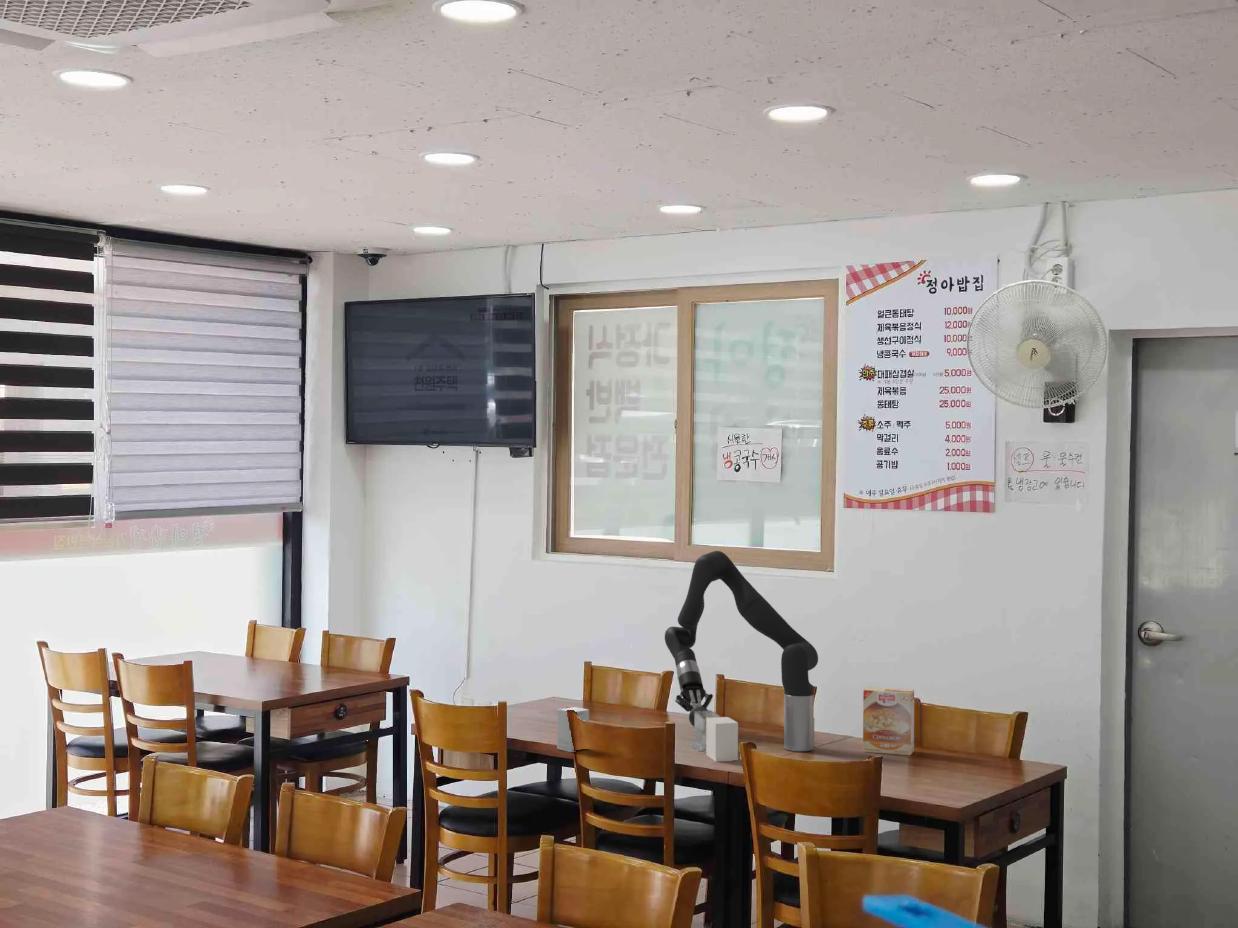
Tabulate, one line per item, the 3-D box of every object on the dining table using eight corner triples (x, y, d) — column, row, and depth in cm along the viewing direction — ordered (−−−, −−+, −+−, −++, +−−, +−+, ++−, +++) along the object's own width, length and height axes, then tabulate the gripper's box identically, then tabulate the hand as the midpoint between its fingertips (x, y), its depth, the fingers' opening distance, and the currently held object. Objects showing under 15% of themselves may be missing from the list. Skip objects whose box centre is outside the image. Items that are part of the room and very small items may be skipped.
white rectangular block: (706, 754, 423) (706, 717, 423) (727, 753, 425) (728, 716, 425) (715, 761, 413) (715, 723, 413) (737, 760, 415) (737, 722, 415)
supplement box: (571, 752, 425) (571, 711, 425) (556, 748, 431) (556, 708, 431) (589, 749, 430) (589, 709, 430) (574, 745, 435) (574, 706, 435)
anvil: (688, 743, 439) (688, 710, 439) (715, 742, 441) (715, 709, 441) (698, 751, 428) (698, 717, 428) (726, 750, 430) (726, 716, 430)
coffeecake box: (862, 751, 429) (862, 689, 429) (866, 747, 435) (866, 686, 435) (911, 755, 423) (911, 692, 423) (914, 751, 430) (914, 688, 430)
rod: (688, 728, 442) (688, 706, 442) (709, 727, 444) (709, 705, 444) (709, 742, 420) (709, 719, 420) (731, 741, 421) (731, 718, 421)
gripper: (672, 670, 452) (681, 714, 440) (710, 669, 455) (721, 712, 443) (667, 684, 457) (677, 727, 445) (706, 683, 460) (716, 726, 448)
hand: (699, 720), depth 444 cm, fingers closed
